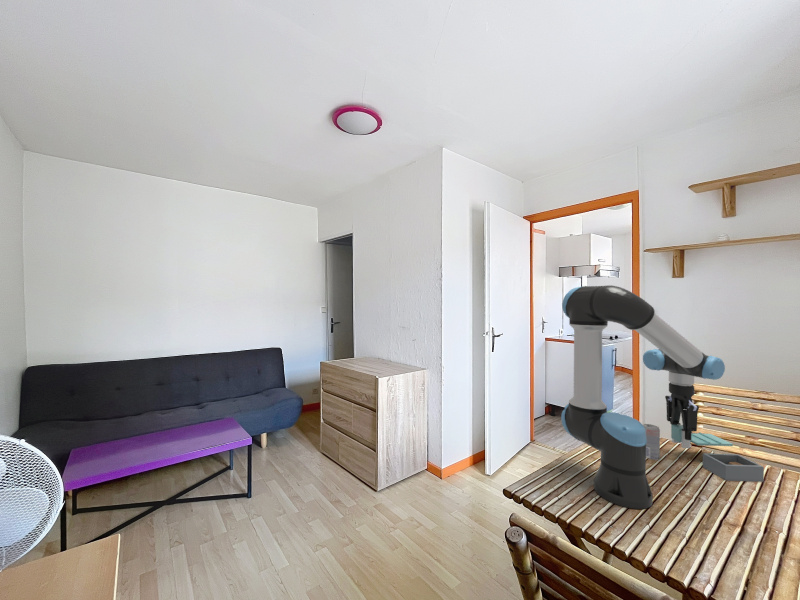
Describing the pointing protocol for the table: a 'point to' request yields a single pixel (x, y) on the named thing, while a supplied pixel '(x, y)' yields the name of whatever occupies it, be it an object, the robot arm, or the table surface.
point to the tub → (733, 467)
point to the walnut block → (734, 463)
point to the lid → (698, 437)
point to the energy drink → (652, 441)
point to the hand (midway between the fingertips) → (681, 444)
